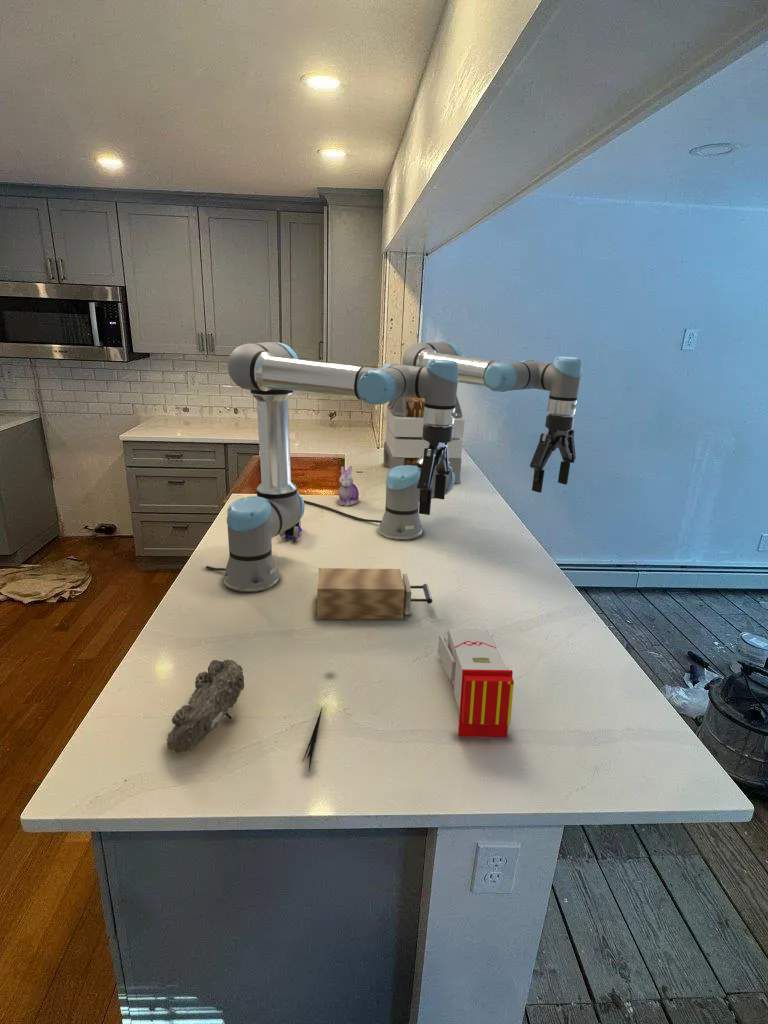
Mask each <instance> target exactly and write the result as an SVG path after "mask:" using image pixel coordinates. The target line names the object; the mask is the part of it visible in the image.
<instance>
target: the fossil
mask: <svg viewBox="0 0 768 1024" xmlns="http://www.w3.org/2000/svg"><path fill="white" fill-rule="evenodd" d="M243 670H244V669H243V667H242V665H240V664H237V662H236V661H235V660H234V659H232V658H231V659H227V658H226V659H224V660H223V661H222V660H217V659H212V660H211V661H210V663H209V665H208V666H207V671H201V672H199V673H198V674H197V675H196V676H195V680H194V684H195V685H194V687H195V689H194V690H193V693H192V694H191V697H190V698H189V700H188V704H184V705H182V706H181V707H180V709H177V710H176V711H175V713H174V715H173V716H172V718H171V723H172V724H173V727H172V730H171V731H170V732H168V734H167V738H166V741H167V742H166V745H167V749H168V750H169V751H173V752H174V753H176V754H178V753H182V752H188V751H189V752H192V751H193V750H195V748H196V747H197V746H199V744H200V743H201V742H203V741H204V740H205V739H206V738H207V737H208V736H209V735H210V734H211V733H212V732H214V730H215V729H217V727H218V726H219V724H220V722H221V721H222V720H223V719H224V718H225V716H226V717H227V719H229V720H233V717H232V715H230V714H229V710H230V709H231V708H234V706H235V704H236V703H237V702H238V699H239V697H240V695H241V693H242V691H243V690H245V689H244V688H245V675H244V671H243Z"/></svg>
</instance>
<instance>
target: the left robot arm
mask: <svg viewBox="0 0 768 1024" xmlns="http://www.w3.org/2000/svg"><path fill="white" fill-rule="evenodd" d="M227 371H228V375H229V377H230V379H231V380H232V382H233V383H234V384H235V386H238V387H239V388H241V389H244V390H248V391H250V395H251V396H252V397H253V398H254V399H255V400H256V412H257V414H256V415H257V430H258V446H259V447H258V448H259V449H258V450H259V464H260V483H259V484H258V486H257V487H256V496H247V497H241V498H239V499H236V500H234V501H233V502H232V503H231V504H230V505H228V508H227V511H226V512H227V513H226V516H227V517H226V525H227V539H228V540H227V541H228V554H229V555H228V557H229V558H228V560H227V563H226V566H225V568H224V567H213V566H209V565H206V566H205V568H206V569H208V570H212V571H217V572H218V571H219V572H223V571H224V574H223V583H224V586H225V587H226V588H228V589H229V590H232V591H234V592H239V593H257V592H262V591H266V590H268V589H271V588H273V587H274V586H276V585H277V584H278V582H279V580H280V574H279V569H278V566H277V565H276V562H275V559H274V557H273V547H272V546H273V545H272V539H274V538H275V537H277V536H280V533H282V532H284V531H285V530H288V529H290V528H292V527H293V526H294V525H296V524H297V523H298V522H299V521H300V520H301V521H302V518H303V517H304V514H305V509H306V508H305V507H306V506H305V503H304V501H303V500H304V498H303V496H301V493H300V492H299V491H298V487H297V485H296V484H295V483H294V482H292V470H291V469H292V466H291V465H292V464H291V463H292V462H291V441H290V418H289V417H290V416H289V399H290V398H291V397H292V395H293V394H294V392H299V393H308V394H315V395H321V396H322V395H324V396H331V397H337V398H345V399H352V400H353V399H354V400H360V401H364V403H367V404H369V405H372V406H377V405H378V406H379V405H384V404H387V403H389V401H392V400H395V399H398V398H401V397H415V398H425V405H424V418H423V422H424V423H425V424H424V425H423V434H422V438H423V439H424V440H425V441H428V442H429V448H425V449H424V458H423V463H422V468H421V473H420V478H419V483H418V485H417V489H420V502H419V508H418V514H419V515H424V516H430V515H431V505H432V499H431V495H432V489H431V485H432V481H433V478H434V474H435V470H436V469H437V474H436V479H435V491H434V498H433V499H437V500H445V496H446V495H445V486H446V476H445V475H449V474H450V471H448V470H449V456H448V442H451V441H452V439H453V429H454V428H453V426H452V424H454V417H456V416H457V413H454V411H455V403H456V395H457V394H458V383H459V382H458V364H457V362H456V361H453V360H446V359H430V360H429V361H428V363H427V367H417V366H408V365H402V364H399V363H385V364H382V365H381V367H379V368H378V367H369V366H360V365H351V364H343V363H334V362H324V361H316V360H308V359H299V357H298V355H297V353H296V352H295V351H294V350H293V349H292V348H291V346H290V345H287V344H285V343H283V342H278V341H277V342H275V341H267V342H255V343H244V344H241V345H239V346H237V347H235V348H234V349H233V351H232V352H231V354H229V356H228V360H227ZM424 483H425V484H426V485H425V484H424Z"/></svg>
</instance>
